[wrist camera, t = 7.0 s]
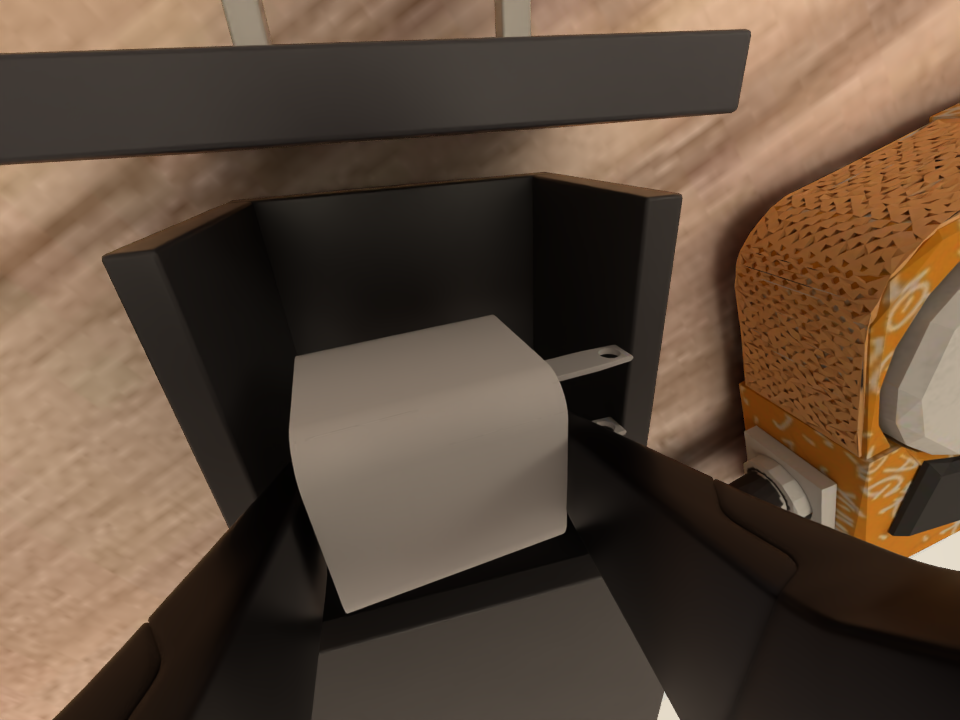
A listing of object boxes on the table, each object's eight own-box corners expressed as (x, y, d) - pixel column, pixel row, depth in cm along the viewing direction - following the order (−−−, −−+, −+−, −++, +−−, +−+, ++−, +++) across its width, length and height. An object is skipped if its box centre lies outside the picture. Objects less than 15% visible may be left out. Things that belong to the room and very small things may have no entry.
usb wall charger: (295, 345, 9) (286, 457, 6) (579, 286, 11) (698, 347, 8) (339, 483, 11) (352, 631, 8) (576, 415, 13) (670, 509, 9)
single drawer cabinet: (278, 432, 18) (199, 685, 10) (562, 381, 20) (701, 550, 12) (349, 638, 25) (340, 892, 16) (556, 583, 27) (642, 781, 18)
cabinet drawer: (104, -107, 10) (-470, -651, 3) (568, -96, 12) (836, -413, 5) (301, 477, 18) (262, 678, 11) (556, 426, 20) (653, 571, 13)
